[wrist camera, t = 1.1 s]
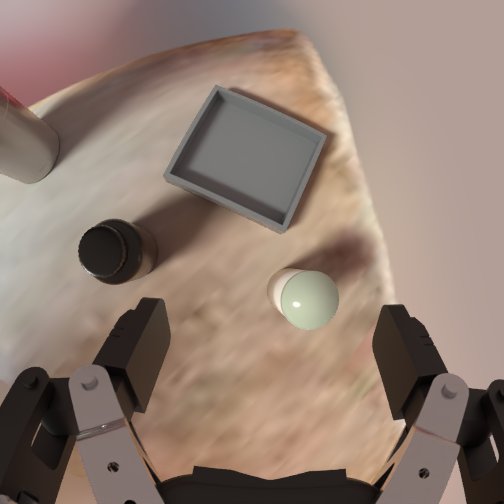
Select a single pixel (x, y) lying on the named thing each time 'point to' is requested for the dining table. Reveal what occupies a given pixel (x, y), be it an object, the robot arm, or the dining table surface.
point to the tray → (246, 158)
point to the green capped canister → (304, 297)
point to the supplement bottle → (117, 251)
